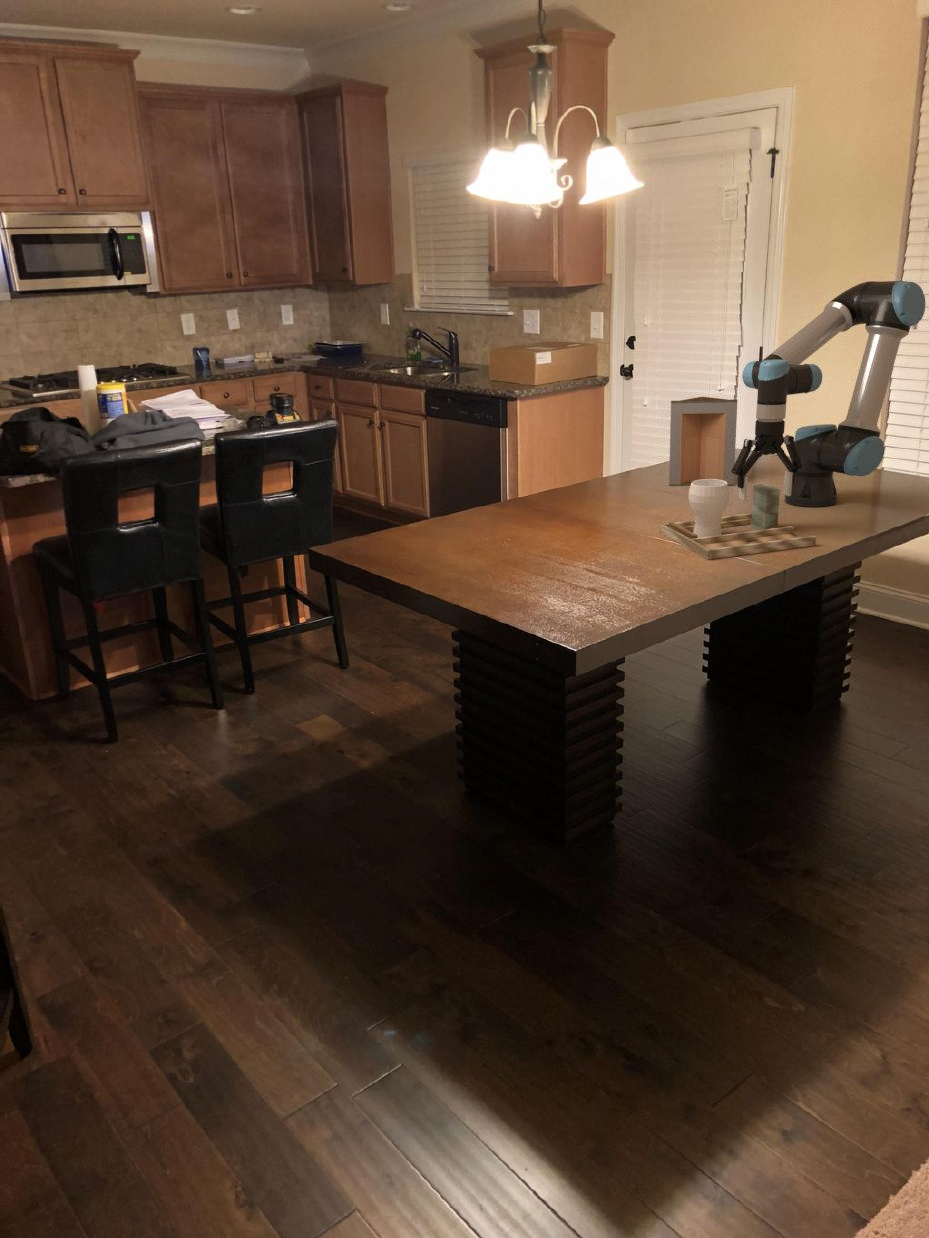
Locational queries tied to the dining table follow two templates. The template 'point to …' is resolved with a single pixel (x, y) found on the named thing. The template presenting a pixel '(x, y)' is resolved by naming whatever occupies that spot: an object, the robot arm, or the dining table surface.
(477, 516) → the dining table surface
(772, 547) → the lane rails
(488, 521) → the dining table surface
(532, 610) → the dining table surface
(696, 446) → the cabinet
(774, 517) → the rail with green post
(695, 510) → the cup
